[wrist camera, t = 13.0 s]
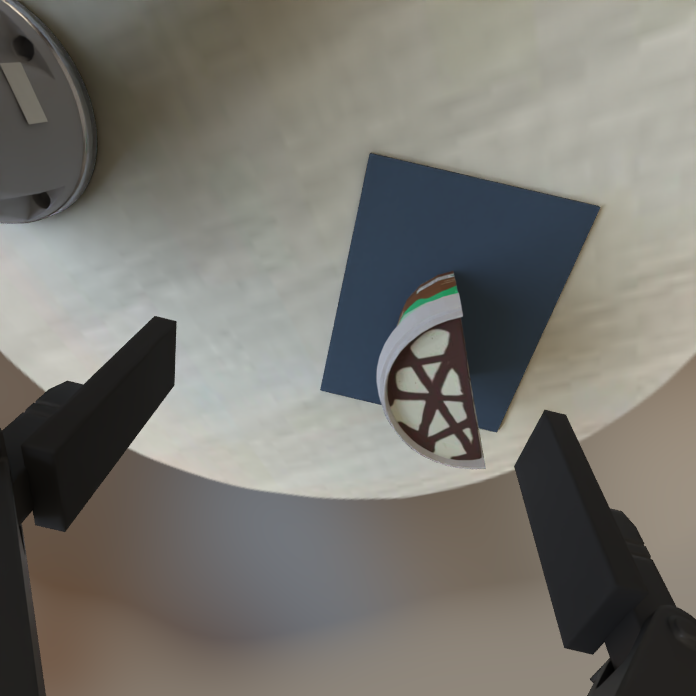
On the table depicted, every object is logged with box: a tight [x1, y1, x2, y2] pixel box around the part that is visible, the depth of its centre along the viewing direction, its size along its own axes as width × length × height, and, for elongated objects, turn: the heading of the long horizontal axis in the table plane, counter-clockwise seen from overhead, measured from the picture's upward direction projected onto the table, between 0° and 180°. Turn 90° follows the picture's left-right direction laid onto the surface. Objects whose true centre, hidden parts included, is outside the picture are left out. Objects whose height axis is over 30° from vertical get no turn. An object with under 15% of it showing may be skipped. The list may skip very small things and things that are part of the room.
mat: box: [321, 153, 600, 432], centre depth 37 cm, size 16×20×1 cm
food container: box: [377, 271, 486, 469], centre depth 34 cm, size 12×6×10 cm, turn 14°
